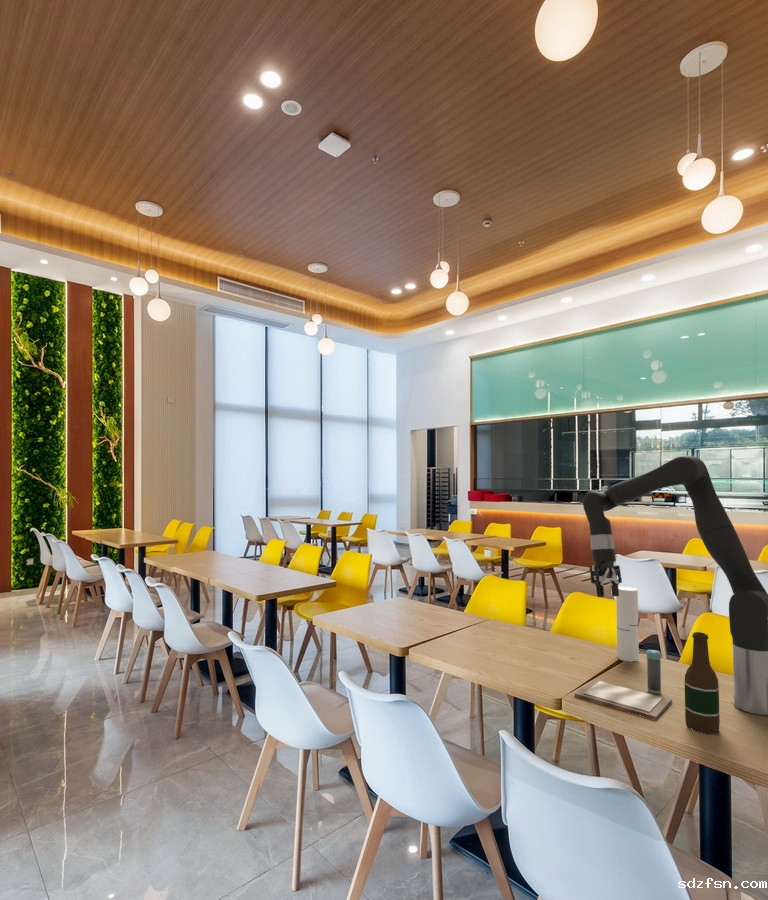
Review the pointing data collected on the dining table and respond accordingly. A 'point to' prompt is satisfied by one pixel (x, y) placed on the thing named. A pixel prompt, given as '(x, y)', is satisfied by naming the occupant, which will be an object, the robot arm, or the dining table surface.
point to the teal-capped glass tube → (654, 671)
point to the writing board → (624, 699)
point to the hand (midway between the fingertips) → (608, 596)
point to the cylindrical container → (627, 624)
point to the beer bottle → (701, 689)
